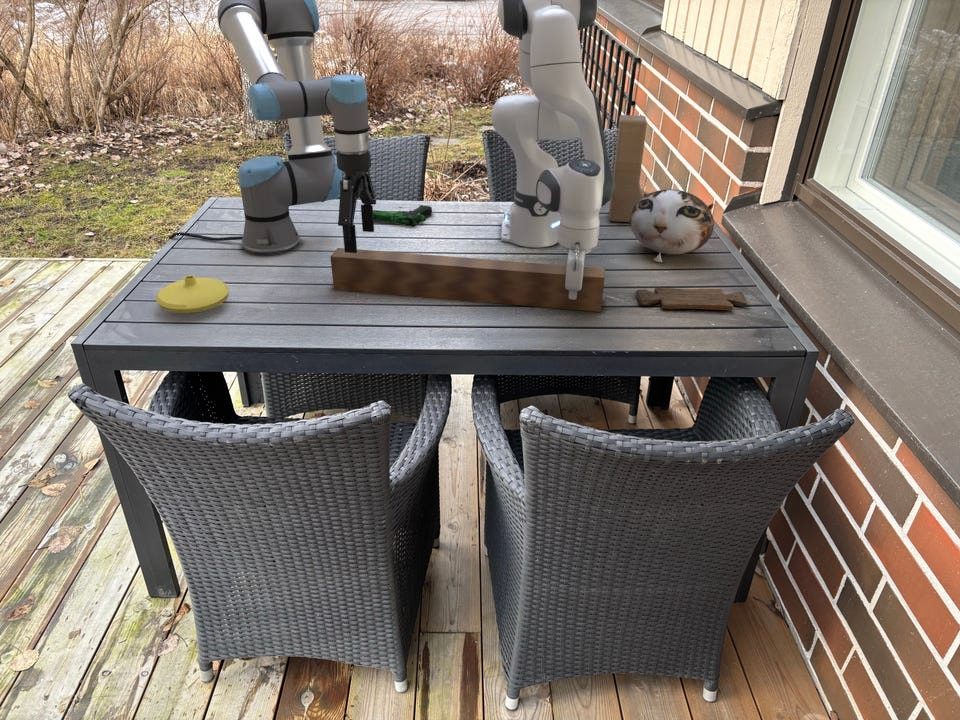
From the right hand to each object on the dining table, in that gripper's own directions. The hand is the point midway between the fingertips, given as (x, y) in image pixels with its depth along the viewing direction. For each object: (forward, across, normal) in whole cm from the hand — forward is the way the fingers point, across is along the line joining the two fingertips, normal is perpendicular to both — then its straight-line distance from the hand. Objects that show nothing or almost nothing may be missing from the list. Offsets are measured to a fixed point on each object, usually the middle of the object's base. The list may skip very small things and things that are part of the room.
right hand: (573, 291), depth 166 cm
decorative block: (+3, +62, -16) cm, 64 cm away
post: (+3, 0, +25) cm, 26 cm away
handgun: (+3, +49, +54) cm, 73 cm away
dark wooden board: (+3, +6, -28) cm, 29 cm away
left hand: (-8, 0, +51) cm, 52 cm away
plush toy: (+3, +37, -24) cm, 44 cm away
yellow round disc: (+3, -17, +86) cm, 87 cm away
